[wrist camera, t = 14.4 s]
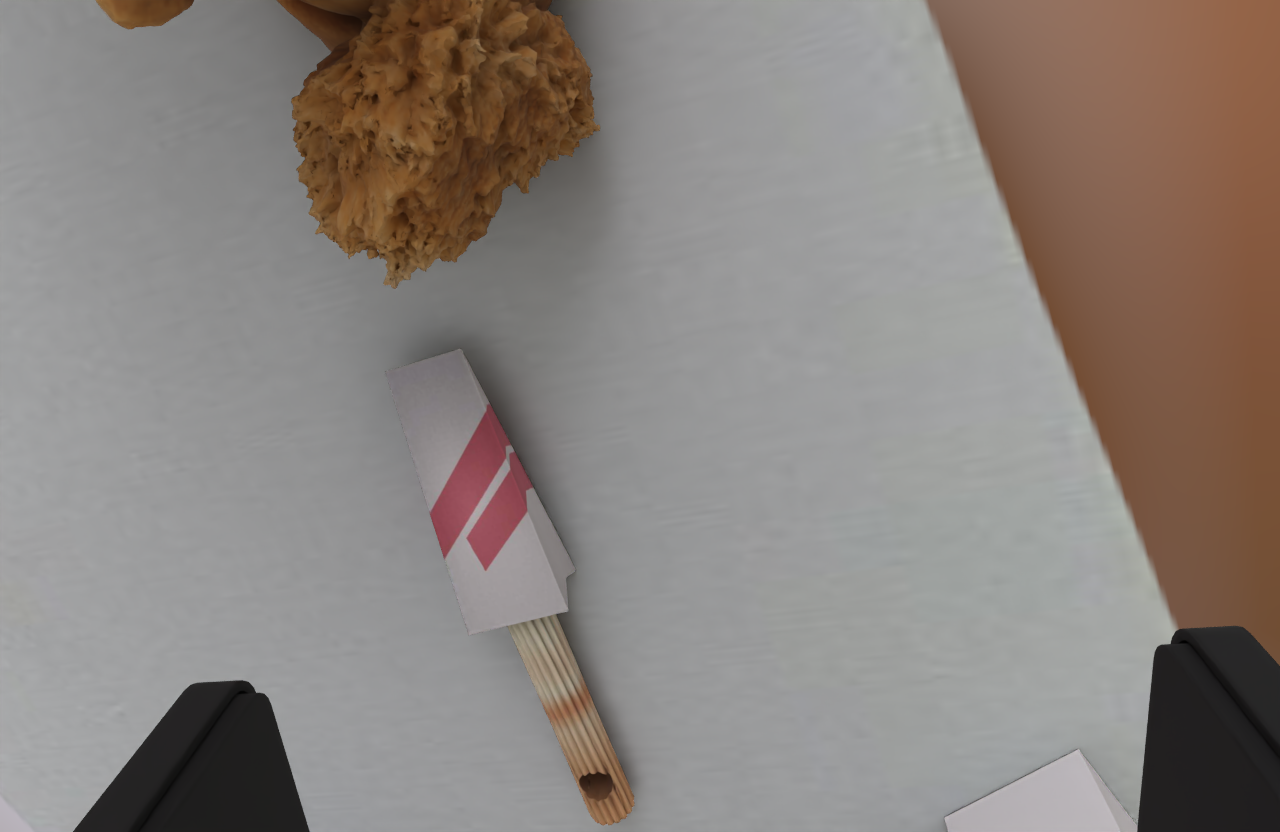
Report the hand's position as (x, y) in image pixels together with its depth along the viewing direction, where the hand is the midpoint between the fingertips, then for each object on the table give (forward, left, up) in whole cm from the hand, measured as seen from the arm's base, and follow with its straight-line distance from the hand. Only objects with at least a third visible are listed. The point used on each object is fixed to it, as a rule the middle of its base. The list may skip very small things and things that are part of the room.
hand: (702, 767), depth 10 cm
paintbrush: (+11, -8, -24) cm, 27 cm away
